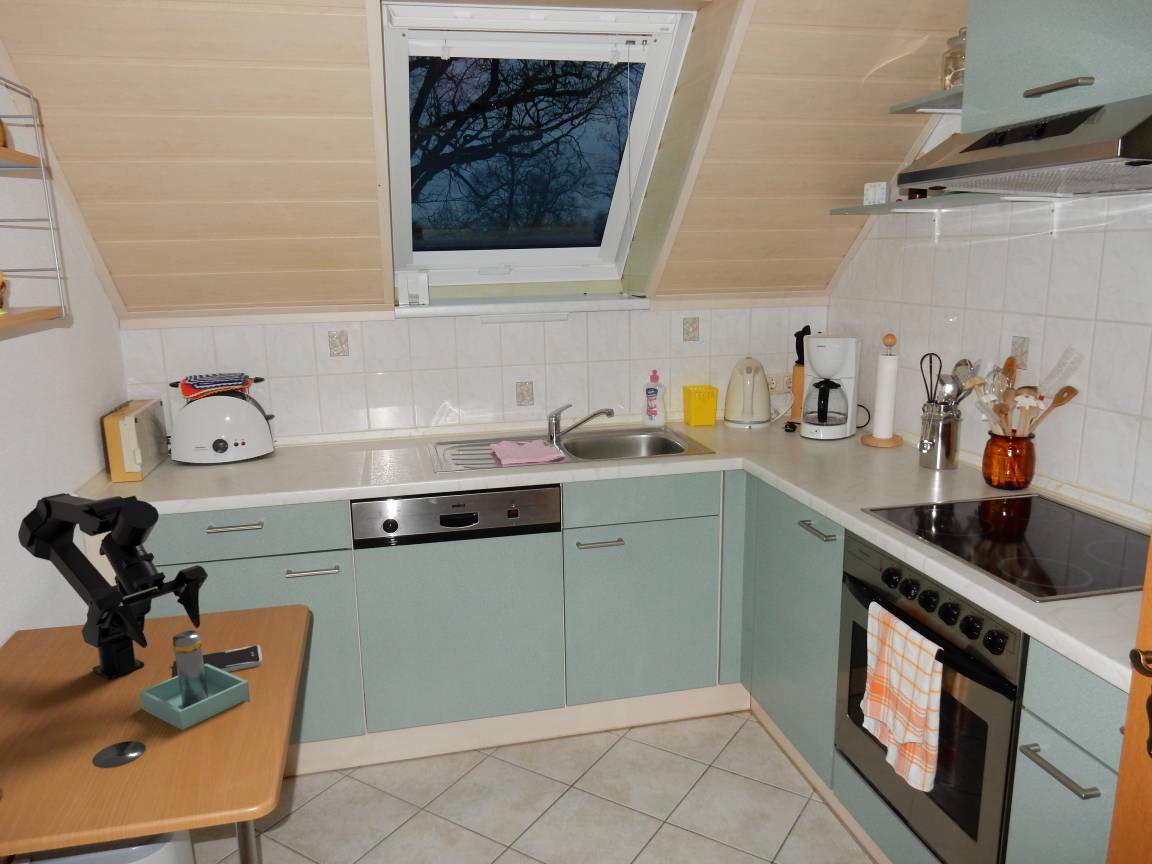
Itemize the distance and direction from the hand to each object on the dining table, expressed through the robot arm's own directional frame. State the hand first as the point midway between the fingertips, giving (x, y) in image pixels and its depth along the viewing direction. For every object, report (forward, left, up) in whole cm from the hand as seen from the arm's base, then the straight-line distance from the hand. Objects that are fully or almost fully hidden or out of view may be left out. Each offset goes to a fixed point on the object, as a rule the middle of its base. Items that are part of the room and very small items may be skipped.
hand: (172, 636), depth 143 cm
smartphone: (-6, +11, -12) cm, 17 cm away
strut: (+5, 0, -11) cm, 12 cm away
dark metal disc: (+9, -15, -11) cm, 21 cm away
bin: (+5, 0, -11) cm, 12 cm away
